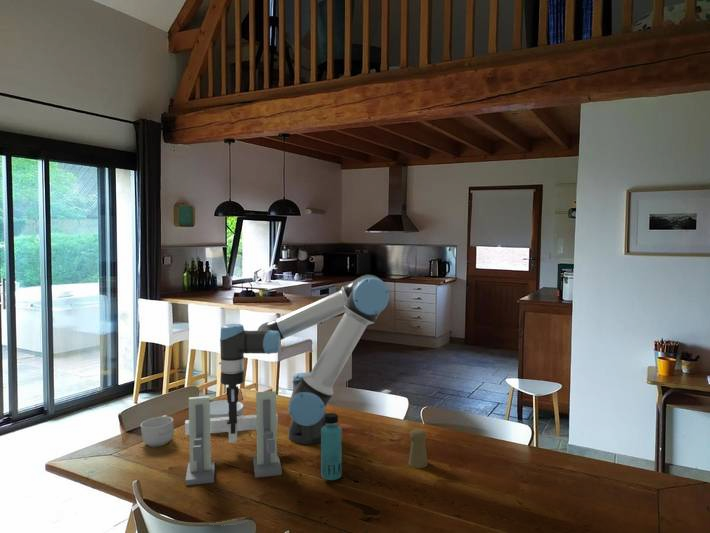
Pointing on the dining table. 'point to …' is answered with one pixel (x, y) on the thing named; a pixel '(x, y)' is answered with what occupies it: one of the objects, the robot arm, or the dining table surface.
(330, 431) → the beverage bottle
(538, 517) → the dining table surface
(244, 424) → the hang rail
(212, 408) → the cereal bowl
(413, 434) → the green shaker
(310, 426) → the robot arm
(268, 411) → the rail standards
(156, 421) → the teacup
